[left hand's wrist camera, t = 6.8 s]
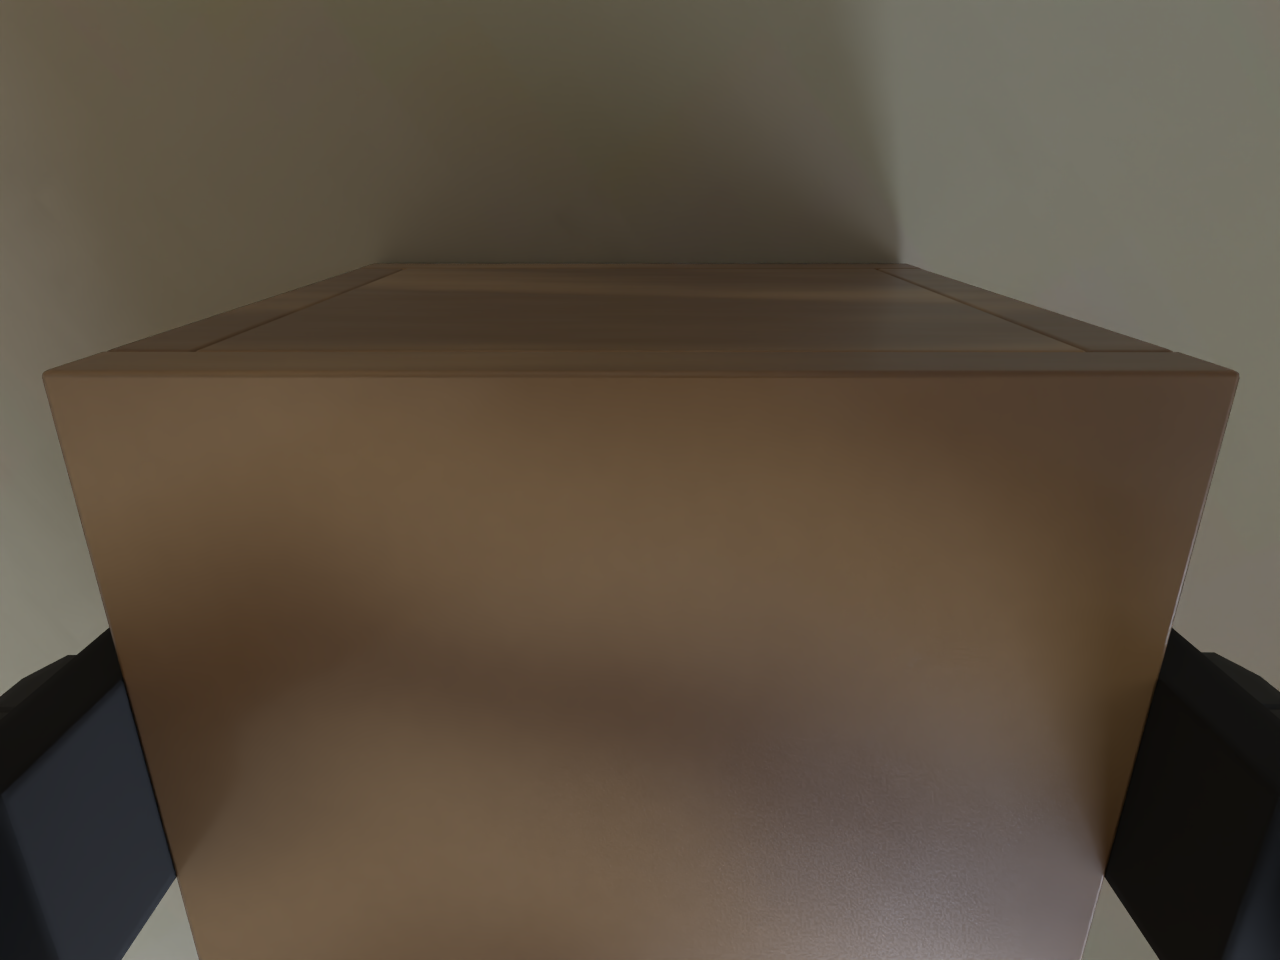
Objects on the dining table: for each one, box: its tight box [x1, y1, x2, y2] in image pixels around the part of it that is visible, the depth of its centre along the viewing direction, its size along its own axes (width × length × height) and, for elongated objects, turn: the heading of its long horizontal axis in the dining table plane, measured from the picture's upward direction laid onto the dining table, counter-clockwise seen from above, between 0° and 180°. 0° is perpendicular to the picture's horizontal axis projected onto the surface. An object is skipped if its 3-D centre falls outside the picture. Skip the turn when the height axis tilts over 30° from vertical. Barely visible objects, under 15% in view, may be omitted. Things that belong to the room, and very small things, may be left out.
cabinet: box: [42, 264, 1239, 960], centre depth 15 cm, size 20×11×10 cm, turn 0°
